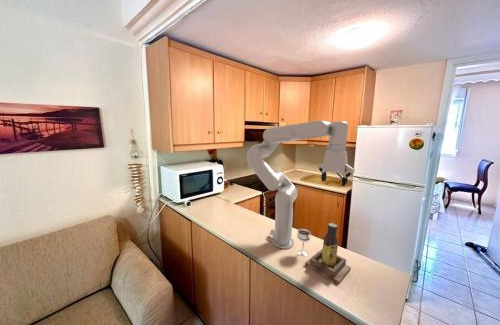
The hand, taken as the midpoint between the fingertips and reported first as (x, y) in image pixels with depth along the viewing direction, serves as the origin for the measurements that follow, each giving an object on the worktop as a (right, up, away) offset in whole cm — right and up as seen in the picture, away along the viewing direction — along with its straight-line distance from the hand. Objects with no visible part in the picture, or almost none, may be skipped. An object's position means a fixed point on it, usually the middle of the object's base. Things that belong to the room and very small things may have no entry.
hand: (333, 183), depth 98 cm
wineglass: (-13, -37, +8) cm, 40 cm away
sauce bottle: (-4, -38, -3) cm, 38 cm away
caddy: (-4, -39, -3) cm, 40 cm away
